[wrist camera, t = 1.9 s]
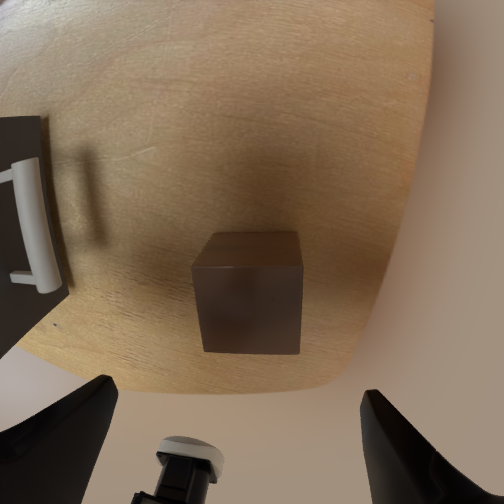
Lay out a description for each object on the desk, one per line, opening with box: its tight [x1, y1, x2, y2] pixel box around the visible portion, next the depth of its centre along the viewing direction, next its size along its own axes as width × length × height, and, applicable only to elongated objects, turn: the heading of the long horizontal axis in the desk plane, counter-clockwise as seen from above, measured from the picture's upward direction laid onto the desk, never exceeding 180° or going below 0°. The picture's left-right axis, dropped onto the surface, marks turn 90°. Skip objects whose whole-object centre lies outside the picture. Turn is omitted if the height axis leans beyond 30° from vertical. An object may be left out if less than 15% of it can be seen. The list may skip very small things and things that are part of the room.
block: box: [191, 232, 303, 355], centre depth 16 cm, size 5×5×5 cm
